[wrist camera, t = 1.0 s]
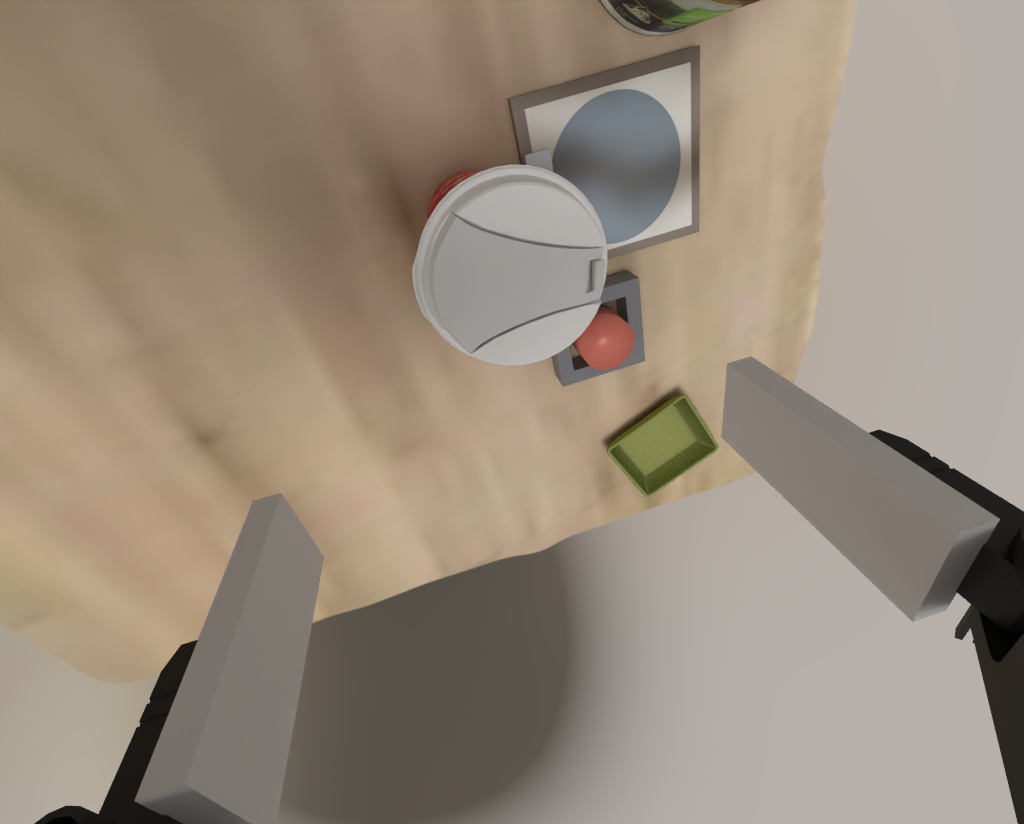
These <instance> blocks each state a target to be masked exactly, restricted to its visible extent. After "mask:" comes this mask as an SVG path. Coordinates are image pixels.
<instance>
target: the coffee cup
mask: <svg viewBox="0 0 1024 824" xmlns="http://www.w3.org/2000/svg"><path fill="white" fill-rule="evenodd" d="M606 273H607V245H606V239H605V234H604V231H603V228H602V225H601V222H600V219H599V217H598V215H597V213H596V211H595V210H594V208H593V206H592V205H591V203H590V202H589V201H588V199H587V198H586V197H585V195H584V194H583V193H582V192H581V191H580V190H579V189H578V188H576V187H575V186H574V185H573V184H572V183H571V182H569V181H568V180H566V179H565V178H563V177H561V176H560V175H558V174H556V173H553V172H551V171H549V170H546V169H544V168H539V167H534V166H530V165H504V166H498V167H493V168H490V169H487V170H484V171H466V172H461V173H458V174H456V175H454V176H452V177H450V178H449V179H447V180H446V181H445V182H444V183H443V184H442V185H441V186H440V187H439V188H438V189H437V191H436V192H435V194H434V196H433V198H432V200H431V203H430V206H429V211H428V217H427V223H426V225H425V228H424V230H423V233H422V235H421V238H420V242H419V246H418V250H417V254H416V257H415V261H414V264H413V267H412V277H413V287H414V291H415V295H416V299H417V302H418V305H419V307H420V309H421V312H422V314H423V316H424V317H425V318H426V319H427V320H428V321H429V322H430V323H431V324H432V325H433V326H434V328H435V329H436V330H437V331H438V332H439V333H440V334H441V336H442V337H443V338H444V339H445V340H447V341H448V342H449V343H450V344H451V345H452V346H454V347H455V348H457V349H458V350H460V351H462V352H463V353H465V354H467V355H469V356H472V357H474V358H477V359H479V360H483V361H486V362H490V363H495V364H499V365H510V366H514V365H526V364H531V363H536V362H539V361H542V360H544V359H547V358H550V357H552V356H554V355H555V354H557V353H559V352H561V351H562V350H564V349H565V348H567V347H568V346H569V345H571V344H572V343H573V342H574V341H575V340H576V339H577V338H578V337H579V336H581V334H582V333H583V332H584V331H585V329H586V328H587V327H588V326H589V324H590V323H591V321H592V320H593V318H594V316H595V315H596V313H597V311H598V308H599V306H600V304H601V300H600V297H601V294H602V291H603V287H604V284H605V280H606Z"/></svg>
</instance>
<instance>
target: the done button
mask: <svg viewBox="0 0 1024 824" xmlns="http://www.w3.org/2000/svg"><path fill="white" fill-rule="evenodd" d="M634 343H635V336H634V332H633V329H632V328H631V326H630V325H629V324H628V323H627V322H625V321H624V320H623V319H622V318H621V317H620V316H618V315H617V314H616V313H615V312H614V311H613V310H611V309H610V308H607V307H604V306H599V308H598V311H597V313H596V315H595V316H594V318H593V320H592V321H591V323H590V324H589V326H588V327H587V328H586V329H585V331H584V332H583V333H582V334H581V336H579V337H578V338H577V339H576V340H575V341H574V342H573V343H572V344H573V345H574V347H575V348H576V349H577V351H578V352H579V353H580V355H581V356H582V357H583V358H584V360H585V361H586V362H587V363H588V364H589V365H590V366H591V367H593V368H595V369H598V370H609V369H612V368H615V367H617V366H619V365H620V364H622V363H623V362H624V361H625V360H626V359H627V358H628V357H629V355H630V354H631V352H632V350H633V347H634Z"/></svg>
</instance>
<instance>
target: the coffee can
mask: <svg viewBox="0 0 1024 824" xmlns="http://www.w3.org/2000/svg"><path fill="white" fill-rule="evenodd" d="M600 1H601V2H602V4H603V5H604V7H605V8H606V9H607V11H608V12H609V13H610V14H611V15H612V16H613V17H614V18H615V19H616V20H617V21H618V22H620V23H621V24H622V25H623V26H625V27H626V28H628V29H630V30H632V31H635V32H637V33H640V34H644V35H650V36H663V35H669V34H673V33H677V32H680V31H683V30H685V29H686V28H689V27H690V26H692V25H694V24H697V23H699V22H702V21H704V20H707V19H710V18H712V17H715V16H718V15H721V14H724V13H727V12H729V11H732V10H734V9H737V8H740V7H743V6H746V5H748V4H751V3H754V2H757V1H760V0H600Z"/></svg>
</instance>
